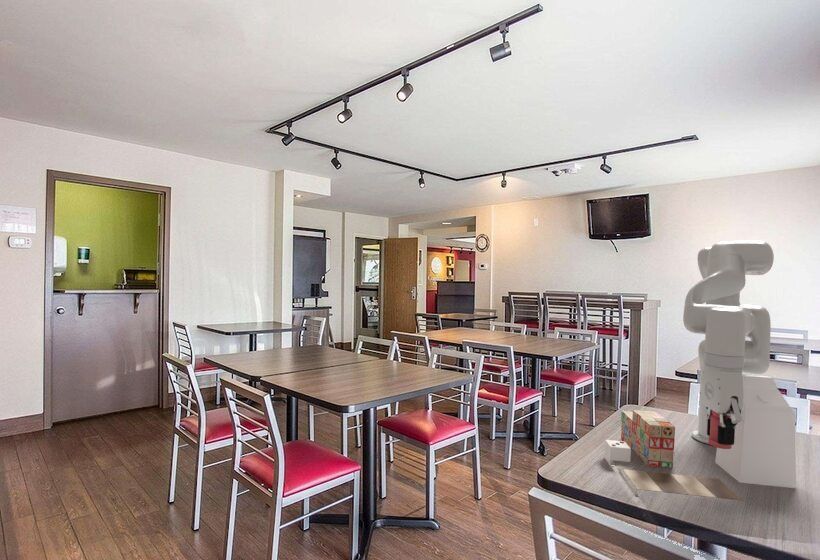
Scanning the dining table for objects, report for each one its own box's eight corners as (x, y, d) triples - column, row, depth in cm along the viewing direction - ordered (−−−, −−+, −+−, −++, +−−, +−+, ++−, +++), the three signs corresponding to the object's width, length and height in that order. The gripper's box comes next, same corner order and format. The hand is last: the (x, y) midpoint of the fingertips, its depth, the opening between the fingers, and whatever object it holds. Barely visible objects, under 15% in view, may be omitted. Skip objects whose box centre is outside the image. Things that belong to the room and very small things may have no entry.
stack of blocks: (620, 440, 134) (621, 400, 134) (642, 442, 133) (643, 402, 133) (647, 471, 113) (649, 423, 113) (673, 474, 112) (675, 426, 112)
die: (624, 459, 120) (624, 441, 120) (630, 467, 115) (630, 448, 115) (604, 457, 121) (605, 439, 121) (609, 465, 116) (610, 446, 116)
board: (719, 483, 108) (719, 477, 108) (748, 508, 96) (749, 502, 96) (619, 473, 111) (619, 467, 111) (635, 496, 99) (635, 490, 99)
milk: (765, 472, 115) (770, 373, 114) (796, 494, 103) (801, 383, 103) (714, 467, 117) (718, 369, 116) (739, 488, 105) (744, 379, 105)
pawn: (725, 442, 104) (727, 402, 104) (735, 449, 100) (737, 408, 100) (704, 440, 105) (706, 401, 105) (714, 448, 101) (716, 407, 100)
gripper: (689, 353, 111) (686, 426, 111) (725, 368, 94) (721, 453, 95) (722, 355, 109) (718, 428, 110) (764, 371, 93) (760, 456, 94)
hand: (720, 439), depth 102 cm, fingers closed on pawn, 4 cm apart
